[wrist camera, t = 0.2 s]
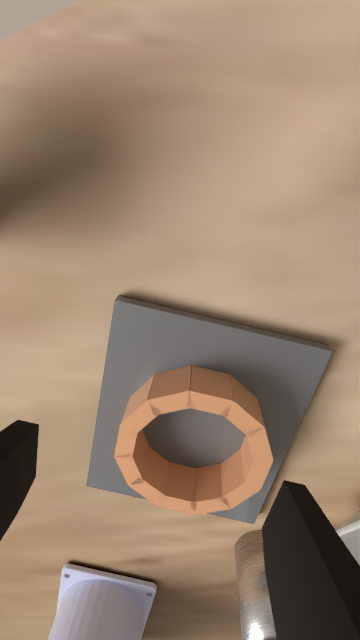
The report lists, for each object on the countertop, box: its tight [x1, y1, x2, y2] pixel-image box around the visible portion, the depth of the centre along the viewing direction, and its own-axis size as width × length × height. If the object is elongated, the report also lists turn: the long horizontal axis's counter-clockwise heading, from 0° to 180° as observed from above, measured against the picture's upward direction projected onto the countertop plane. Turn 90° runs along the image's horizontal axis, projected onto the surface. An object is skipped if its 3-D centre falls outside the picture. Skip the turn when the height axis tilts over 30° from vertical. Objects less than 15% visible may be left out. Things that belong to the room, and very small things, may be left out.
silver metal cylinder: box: [235, 530, 277, 640], centre depth 22 cm, size 5×5×7 cm
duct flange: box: [86, 296, 333, 524], centre depth 19 cm, size 14×12×3 cm
